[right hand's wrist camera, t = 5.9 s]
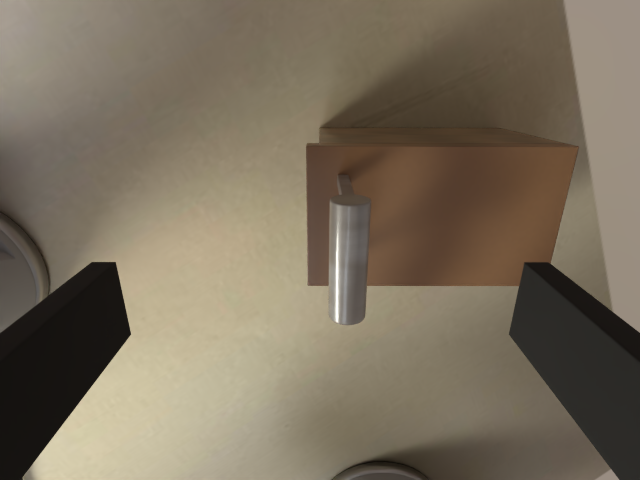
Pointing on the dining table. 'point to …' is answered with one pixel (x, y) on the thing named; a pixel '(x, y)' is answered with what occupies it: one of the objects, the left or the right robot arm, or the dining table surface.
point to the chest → (428, 136)
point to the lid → (429, 215)
